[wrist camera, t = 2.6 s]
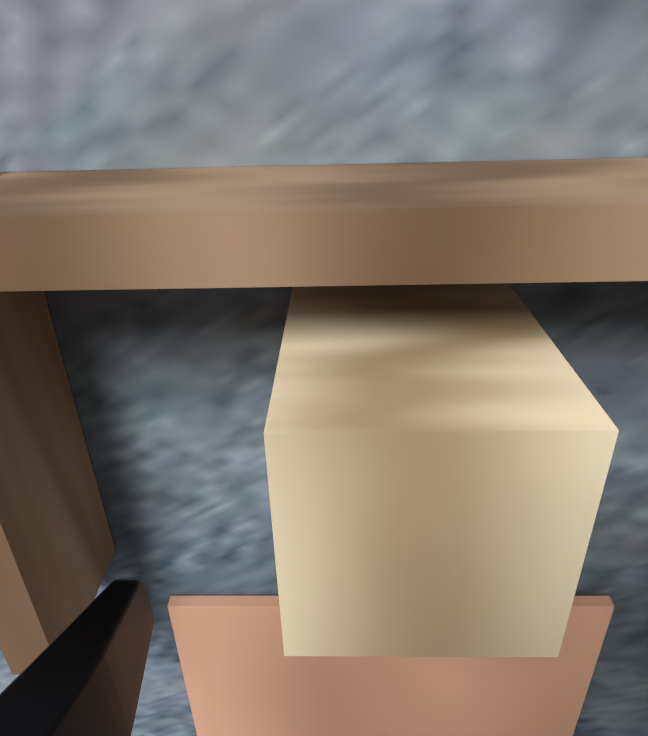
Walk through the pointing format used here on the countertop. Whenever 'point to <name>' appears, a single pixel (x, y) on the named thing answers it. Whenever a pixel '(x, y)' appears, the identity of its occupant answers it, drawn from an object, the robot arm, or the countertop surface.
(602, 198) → the open side box
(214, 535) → the countertop surface
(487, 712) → the mat
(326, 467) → the maple block
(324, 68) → the countertop surface
